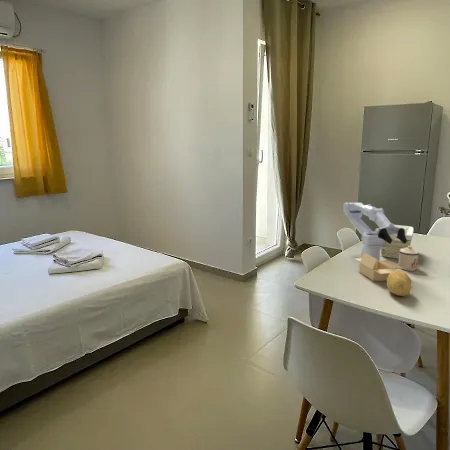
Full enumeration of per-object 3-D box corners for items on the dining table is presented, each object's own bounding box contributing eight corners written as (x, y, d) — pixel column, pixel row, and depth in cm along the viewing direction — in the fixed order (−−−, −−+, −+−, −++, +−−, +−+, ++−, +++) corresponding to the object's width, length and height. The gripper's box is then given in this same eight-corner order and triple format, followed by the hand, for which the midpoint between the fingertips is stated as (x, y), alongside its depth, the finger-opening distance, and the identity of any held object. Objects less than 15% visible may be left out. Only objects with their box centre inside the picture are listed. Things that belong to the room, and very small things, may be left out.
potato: (413, 291, 157) (415, 270, 155) (407, 302, 146) (409, 280, 144) (388, 285, 163) (390, 265, 161) (380, 296, 151) (382, 274, 149)
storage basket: (409, 261, 198) (412, 234, 195) (377, 256, 206) (380, 231, 203) (411, 250, 219) (414, 226, 216) (382, 246, 226) (384, 223, 223)
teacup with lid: (414, 272, 180) (417, 249, 178) (395, 268, 186) (397, 246, 184) (420, 266, 190) (423, 244, 187) (401, 262, 195) (404, 241, 193)
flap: (361, 262, 178) (359, 262, 178) (365, 253, 177) (364, 252, 177) (373, 269, 168) (371, 269, 168) (377, 259, 167) (376, 259, 167)
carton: (354, 268, 185) (355, 253, 183) (380, 267, 187) (382, 252, 186) (379, 285, 164) (380, 268, 162) (409, 283, 166) (411, 266, 164)
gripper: (373, 217, 178) (387, 235, 167) (400, 218, 180) (415, 235, 169) (369, 229, 182) (381, 247, 171) (395, 229, 184) (409, 246, 173)
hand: (398, 242), depth 170 cm, fingers open, 7 cm apart
